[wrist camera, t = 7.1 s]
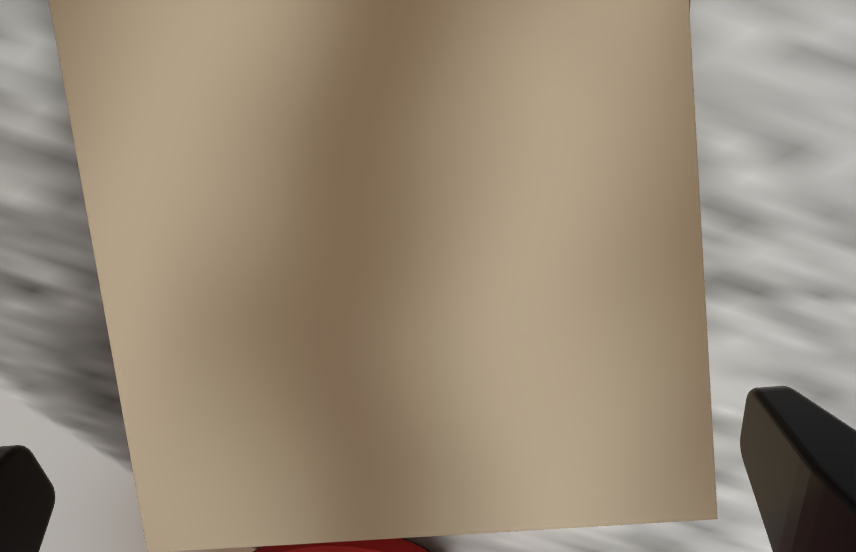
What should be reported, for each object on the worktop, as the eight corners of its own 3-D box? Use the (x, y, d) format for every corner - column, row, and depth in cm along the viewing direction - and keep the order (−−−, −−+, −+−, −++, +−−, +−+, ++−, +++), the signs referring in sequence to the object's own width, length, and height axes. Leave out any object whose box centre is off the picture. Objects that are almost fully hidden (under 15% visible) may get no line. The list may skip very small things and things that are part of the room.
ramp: (659, -189, 10) (826, -231, 6) (637, 360, 16) (711, 561, 12) (64, -93, 11) (-203, -62, 7) (245, 393, 17) (168, 590, 13)
